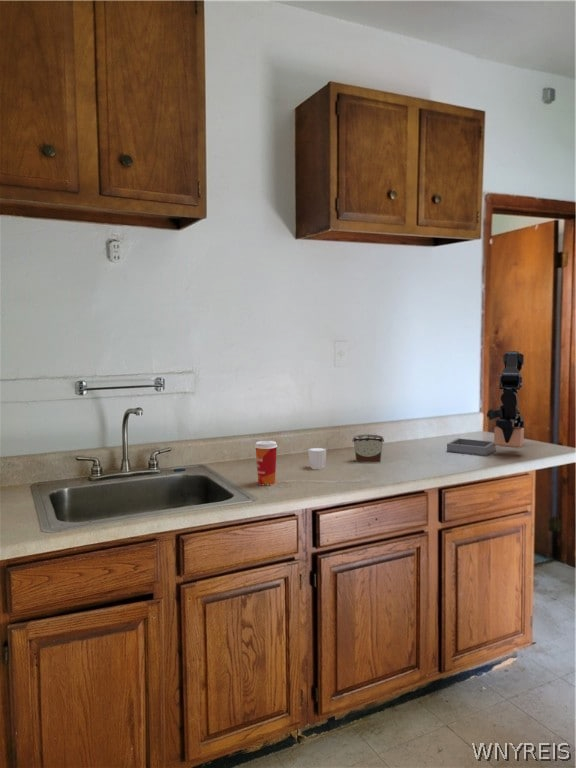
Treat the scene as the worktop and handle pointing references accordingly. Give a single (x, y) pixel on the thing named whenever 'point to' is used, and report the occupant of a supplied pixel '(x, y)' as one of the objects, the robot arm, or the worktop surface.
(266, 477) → the paper cup
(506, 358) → the robot arm
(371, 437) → the food container
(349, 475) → the worktop surface
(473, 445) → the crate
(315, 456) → the white ribbed cup
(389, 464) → the worktop surface
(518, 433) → the box
